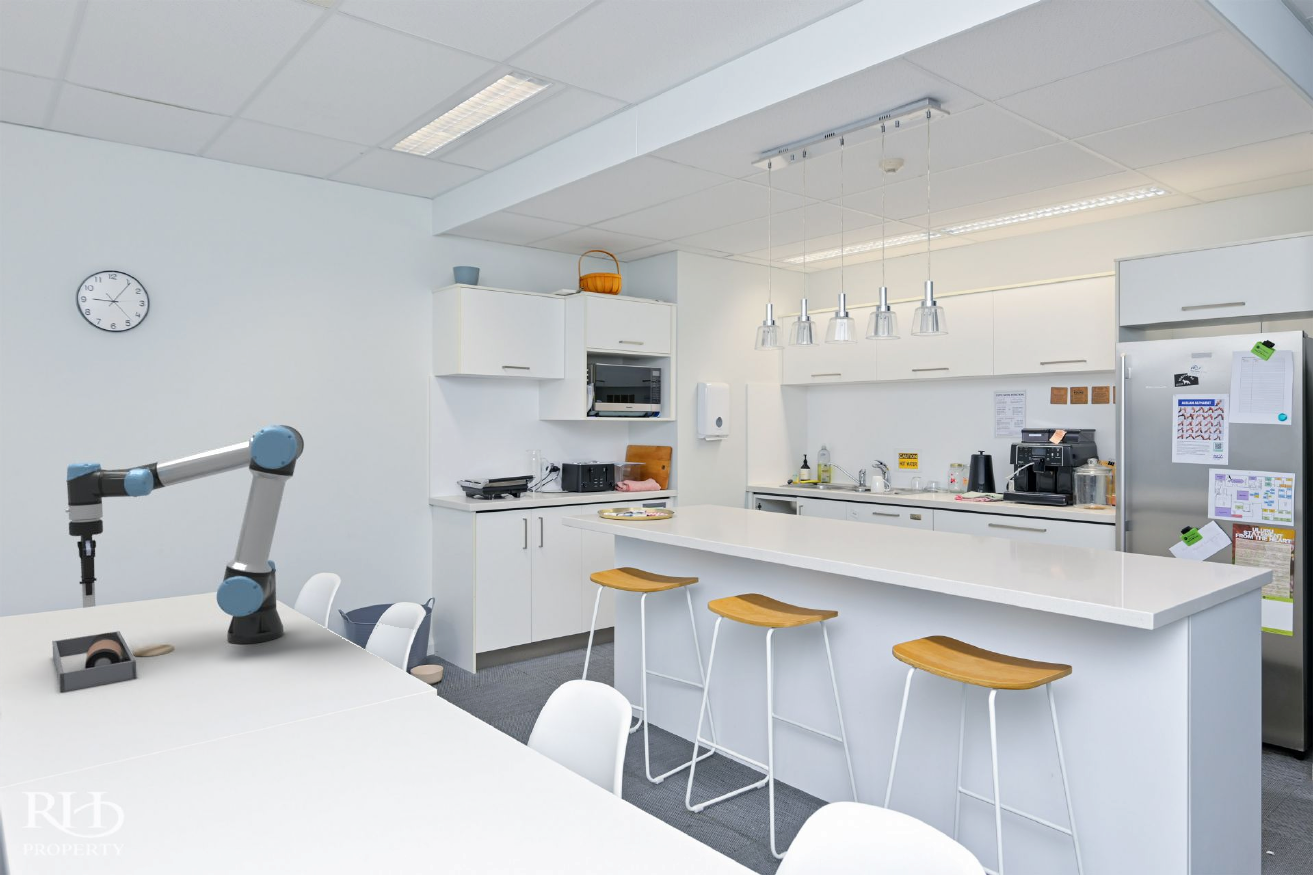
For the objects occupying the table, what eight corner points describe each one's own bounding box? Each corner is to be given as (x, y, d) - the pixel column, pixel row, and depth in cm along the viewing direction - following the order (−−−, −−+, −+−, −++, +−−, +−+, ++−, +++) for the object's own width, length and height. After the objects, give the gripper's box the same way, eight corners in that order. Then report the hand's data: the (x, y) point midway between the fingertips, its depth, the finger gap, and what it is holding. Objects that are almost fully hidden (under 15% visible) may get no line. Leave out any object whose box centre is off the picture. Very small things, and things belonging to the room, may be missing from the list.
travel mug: (85, 658, 220) (80, 679, 203) (92, 630, 220) (88, 649, 203) (118, 660, 224) (116, 681, 207) (125, 632, 224) (124, 651, 207)
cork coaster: (181, 646, 234) (181, 644, 234) (160, 656, 224) (160, 655, 224) (147, 646, 234) (147, 644, 234) (124, 657, 224) (124, 655, 224)
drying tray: (53, 657, 225) (52, 641, 225) (119, 646, 235) (119, 630, 235) (60, 692, 196) (59, 673, 196) (136, 678, 206) (135, 660, 206)
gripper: (67, 518, 221) (70, 604, 222) (70, 523, 211) (73, 613, 212) (100, 516, 226) (103, 599, 227) (104, 521, 216) (108, 608, 217)
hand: (89, 606), depth 219 cm, fingers closed
